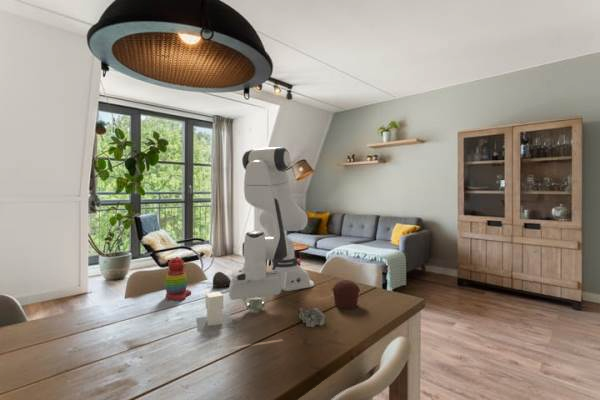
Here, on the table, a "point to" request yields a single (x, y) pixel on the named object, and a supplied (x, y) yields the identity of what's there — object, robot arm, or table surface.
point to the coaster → (204, 326)
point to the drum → (255, 305)
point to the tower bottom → (214, 317)
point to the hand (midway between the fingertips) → (255, 307)
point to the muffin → (346, 294)
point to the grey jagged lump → (312, 317)
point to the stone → (220, 280)
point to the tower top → (214, 301)
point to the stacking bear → (176, 280)
